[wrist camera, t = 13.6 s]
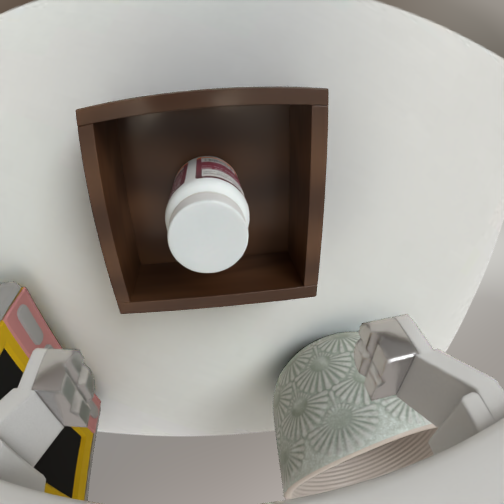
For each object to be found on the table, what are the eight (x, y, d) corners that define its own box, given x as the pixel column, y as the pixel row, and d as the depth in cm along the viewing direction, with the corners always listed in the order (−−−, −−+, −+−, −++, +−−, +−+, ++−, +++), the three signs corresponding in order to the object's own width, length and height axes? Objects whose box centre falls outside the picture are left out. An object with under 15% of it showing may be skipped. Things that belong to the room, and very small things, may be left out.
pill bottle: (192, 226, 24) (188, 293, 17) (162, 173, 22) (141, 220, 15) (249, 200, 24) (271, 257, 17) (222, 143, 21) (231, 175, 14)
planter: (408, 294, 32) (484, 398, 19) (377, 387, 41) (418, 474, 27) (255, 320, 31) (288, 466, 17) (261, 412, 39) (281, 515, 26)
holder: (105, 102, 19) (75, 109, 14) (300, 87, 21) (328, 88, 16) (133, 270, 26) (120, 314, 21) (296, 256, 28) (316, 296, 23)
